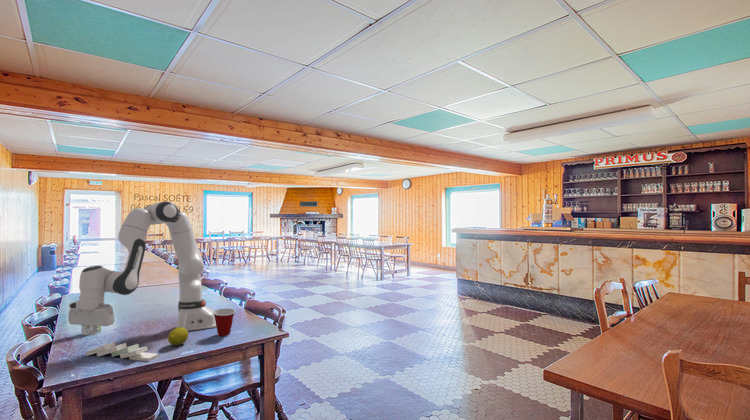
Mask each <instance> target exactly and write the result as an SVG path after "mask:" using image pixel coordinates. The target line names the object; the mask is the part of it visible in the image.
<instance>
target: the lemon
mask: <svg viewBox="0 0 750 420" xmlns="http://www.w3.org/2000/svg"><path fill="white" fill-rule="evenodd" d="M188 339H189V331H187V330H186V329H185V328H183V327H178V328H176V327H175V328H173V329H172V330H170V332H169V334H168V335H167V341H168V343H169V344H170V345H173V346H180V345H182V344H184V343H185V342H186V341H187V340H188Z"/></svg>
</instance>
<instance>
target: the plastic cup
mask: <svg viewBox="0 0 750 420" xmlns="http://www.w3.org/2000/svg"><path fill="white" fill-rule="evenodd" d="M235 313H236V309H234V308H226V307H225V308H218V309H216V310H213V314H214V316H215V322H216V327H215V328H216V330H217V331H216V333H217V335H218V336H220V337H225V336H229V335H230V334H231V330H232V325H233V320H234V315H235Z"/></svg>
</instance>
